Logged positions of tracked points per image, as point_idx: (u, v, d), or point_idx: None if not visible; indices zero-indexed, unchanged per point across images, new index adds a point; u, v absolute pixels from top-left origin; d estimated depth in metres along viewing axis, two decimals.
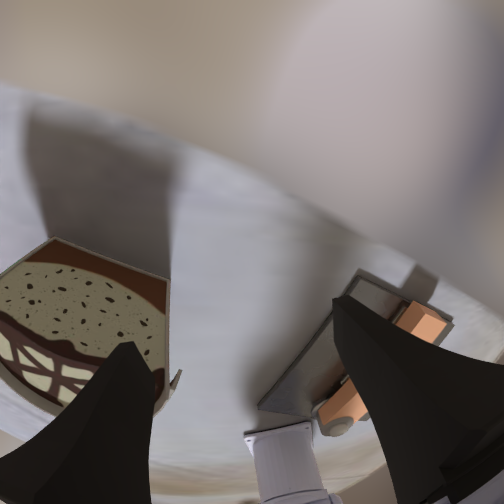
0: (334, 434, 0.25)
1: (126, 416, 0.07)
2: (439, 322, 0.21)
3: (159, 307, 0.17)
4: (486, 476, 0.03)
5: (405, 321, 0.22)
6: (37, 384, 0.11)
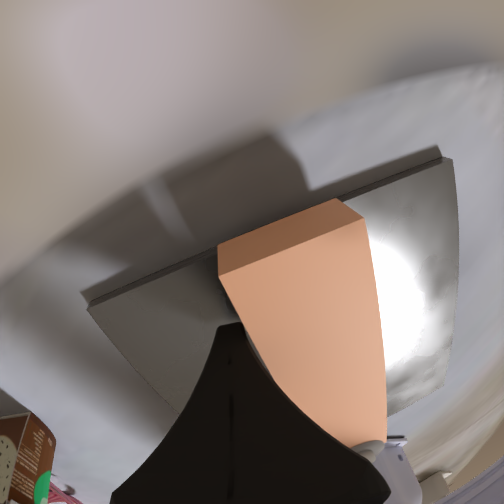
0: None
1: None
2: (321, 241, 0.07)
3: (17, 446, 0.11)
4: None
5: None
6: None
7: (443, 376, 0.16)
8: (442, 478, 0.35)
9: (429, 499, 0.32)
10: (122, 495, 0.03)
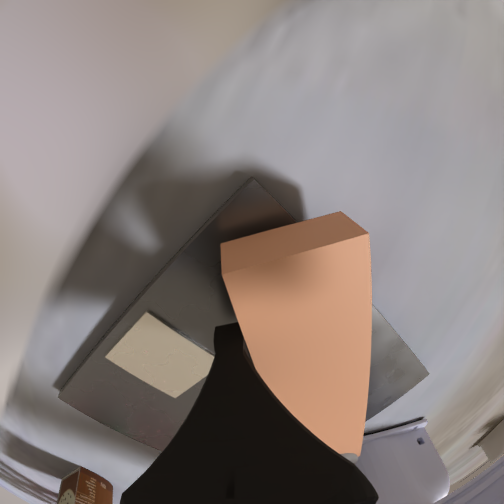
0: None
1: None
2: (326, 252, 0.07)
3: (75, 494, 0.15)
4: None
5: None
6: None
7: (420, 369, 0.15)
8: None
9: None
10: (132, 496, 0.03)
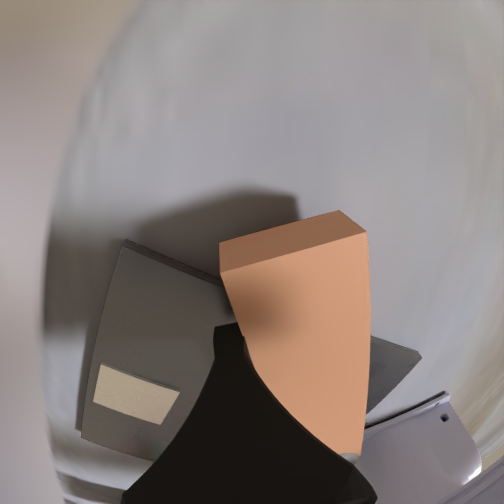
0: None
1: None
2: (324, 250, 0.07)
3: None
4: None
5: None
6: None
7: (406, 356, 0.14)
8: None
9: None
10: (133, 496, 0.03)
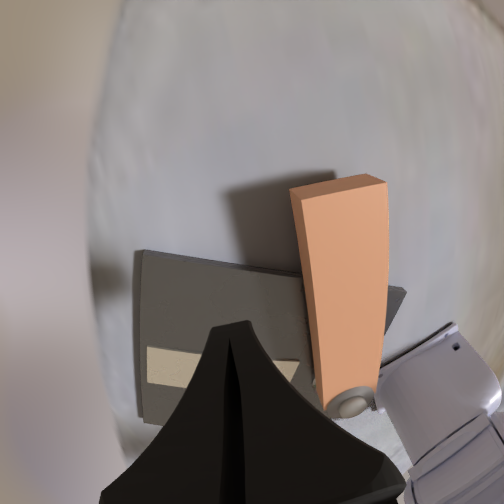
0: (350, 415, 0.17)
1: (238, 404, 0.07)
2: (362, 191, 0.11)
3: None
4: None
5: (299, 229, 0.13)
6: None
7: (389, 293, 0.17)
8: None
9: None
10: (111, 493, 0.03)
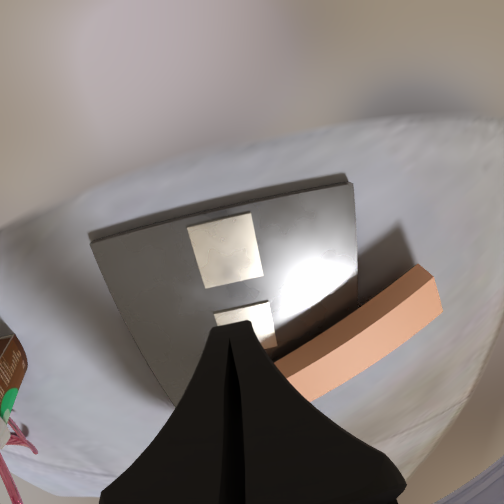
0: None
1: (237, 404, 0.07)
2: (438, 302, 0.18)
3: None
4: None
5: (404, 283, 0.18)
6: None
7: None
8: None
9: None
10: (110, 493, 0.03)
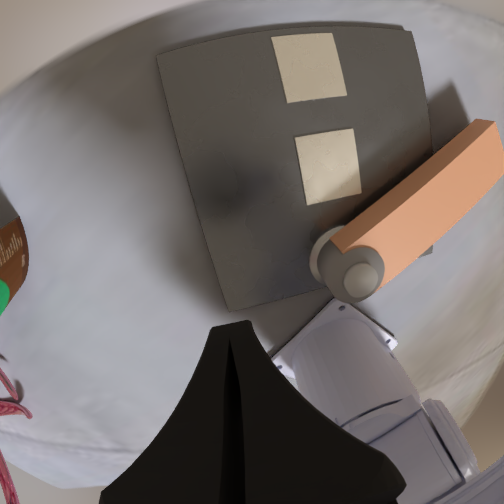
0: (353, 285, 0.16)
1: (237, 404, 0.07)
2: (503, 155, 0.14)
3: None
4: None
5: (471, 129, 0.14)
6: None
7: None
8: None
9: None
10: (111, 493, 0.03)
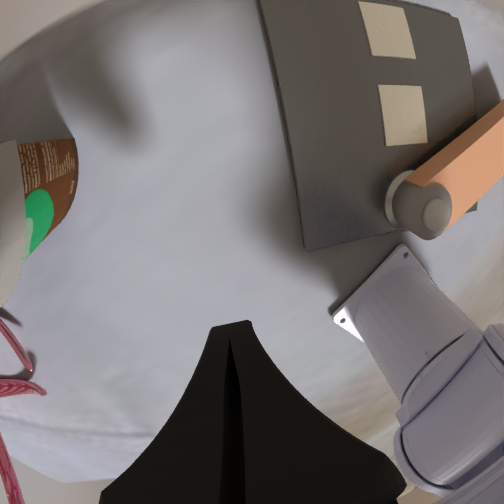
0: (432, 218, 0.15)
1: (237, 404, 0.07)
2: None
3: None
4: None
5: None
6: None
7: None
8: None
9: None
10: (110, 493, 0.03)
